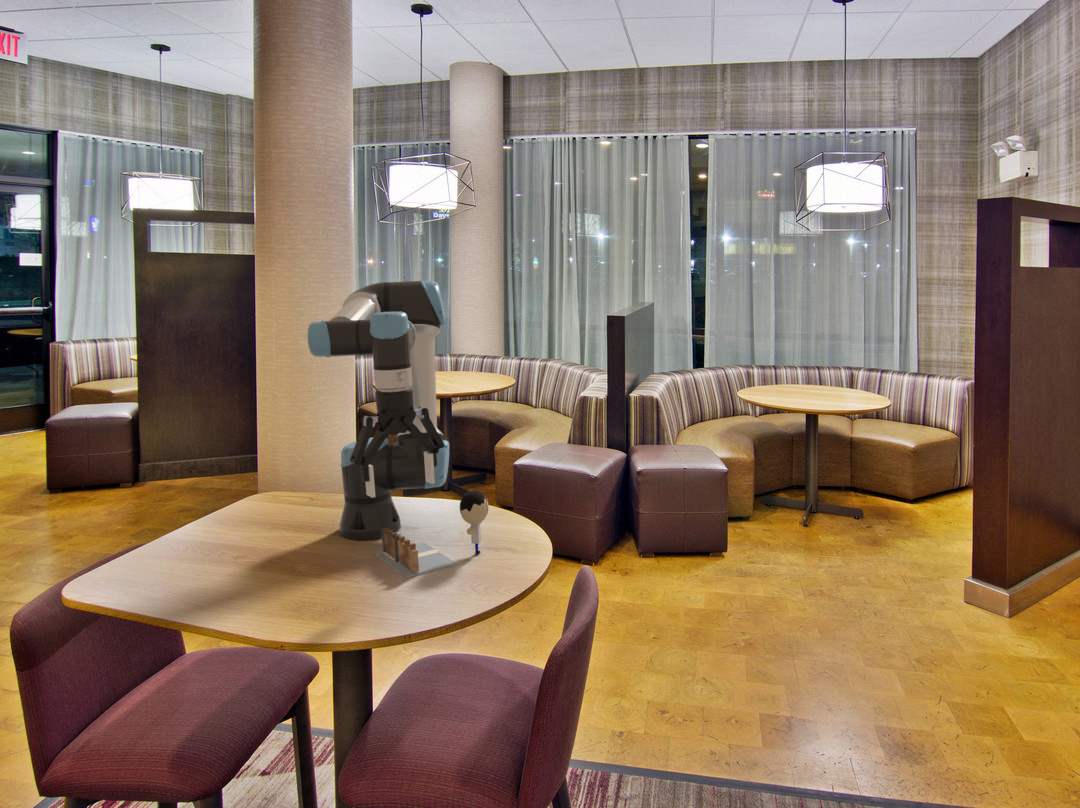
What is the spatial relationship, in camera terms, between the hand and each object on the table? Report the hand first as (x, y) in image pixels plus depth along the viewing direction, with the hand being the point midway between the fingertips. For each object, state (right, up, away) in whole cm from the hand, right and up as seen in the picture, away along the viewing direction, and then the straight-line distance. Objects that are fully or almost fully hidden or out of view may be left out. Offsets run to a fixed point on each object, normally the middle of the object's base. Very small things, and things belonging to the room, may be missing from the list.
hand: (401, 489), depth 160 cm
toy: (+14, -17, +17) cm, 28 cm away
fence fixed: (-5, -17, +17) cm, 25 cm away
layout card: (+1, -18, +15) cm, 23 cm away
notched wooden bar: (0, -18, +9) cm, 20 cm away
